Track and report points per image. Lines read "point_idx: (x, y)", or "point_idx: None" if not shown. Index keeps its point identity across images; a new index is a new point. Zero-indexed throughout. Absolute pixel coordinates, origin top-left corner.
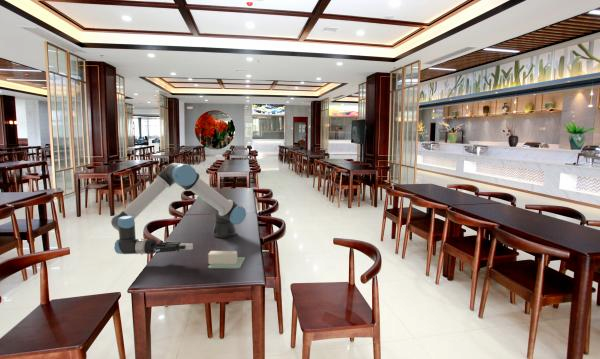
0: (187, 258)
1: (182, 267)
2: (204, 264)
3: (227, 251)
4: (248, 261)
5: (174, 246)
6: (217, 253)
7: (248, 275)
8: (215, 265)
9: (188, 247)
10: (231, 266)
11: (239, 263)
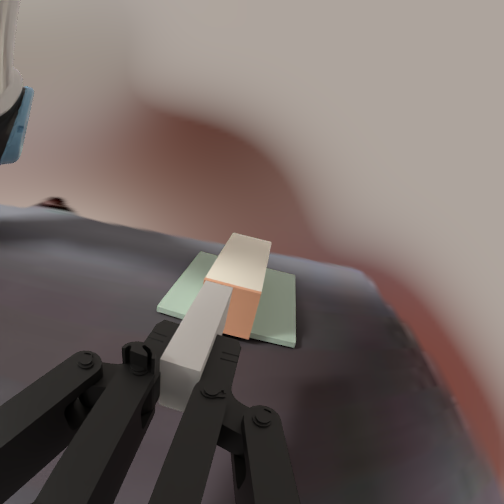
0: None
1: None
2: None
3: (231, 246)
4: None
5: (275, 421)
6: (252, 268)
7: (339, 277)
8: (275, 320)
9: (221, 330)
10: (288, 287)
11: None
